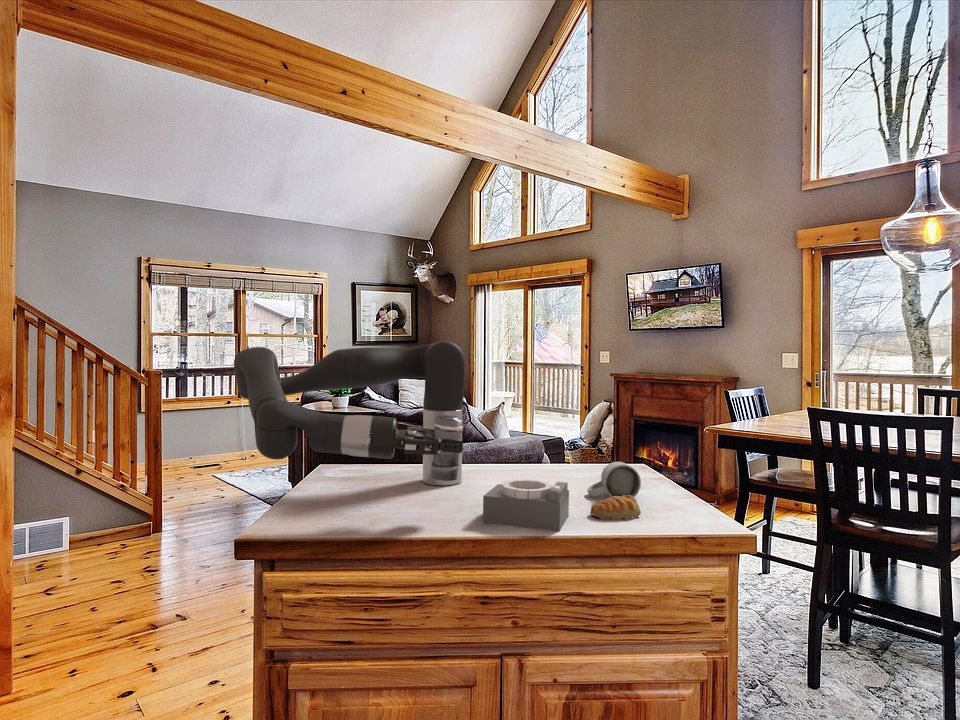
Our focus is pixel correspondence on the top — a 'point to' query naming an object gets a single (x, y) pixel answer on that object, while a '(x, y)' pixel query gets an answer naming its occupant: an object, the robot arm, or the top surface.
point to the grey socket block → (527, 504)
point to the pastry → (616, 508)
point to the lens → (446, 462)
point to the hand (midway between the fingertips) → (461, 443)
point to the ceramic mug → (617, 481)
